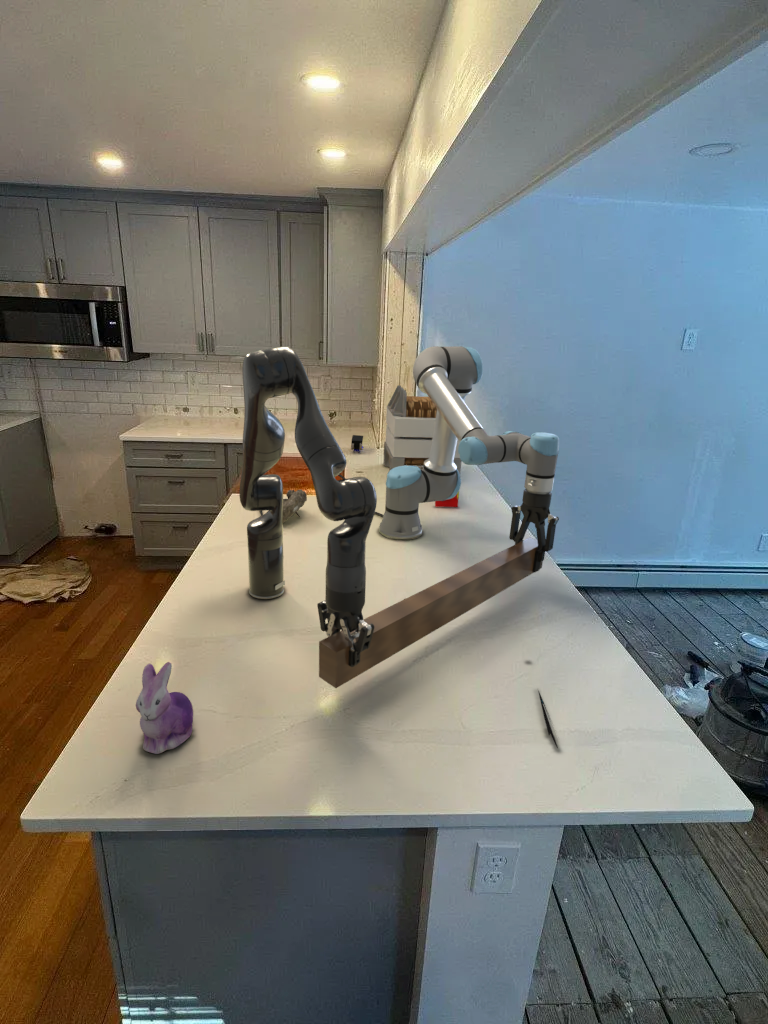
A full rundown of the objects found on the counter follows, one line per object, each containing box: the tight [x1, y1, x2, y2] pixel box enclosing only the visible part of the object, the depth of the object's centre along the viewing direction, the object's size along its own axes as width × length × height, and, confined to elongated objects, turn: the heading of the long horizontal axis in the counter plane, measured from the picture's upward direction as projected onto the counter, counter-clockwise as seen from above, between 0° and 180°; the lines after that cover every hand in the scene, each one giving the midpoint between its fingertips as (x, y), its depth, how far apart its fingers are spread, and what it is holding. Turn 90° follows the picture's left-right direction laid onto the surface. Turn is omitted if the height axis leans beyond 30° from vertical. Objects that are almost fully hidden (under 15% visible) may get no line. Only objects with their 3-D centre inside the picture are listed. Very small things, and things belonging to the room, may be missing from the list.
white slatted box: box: [383, 384, 463, 475], centre depth 268 cm, size 34×33×41 cm
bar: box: [318, 536, 544, 689], centre depth 136 cm, size 80×5×8 cm, turn 137°
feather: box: [528, 660, 560, 749], centre depth 116 cm, size 2×28×2 cm
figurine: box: [135, 661, 194, 755], centre depth 100 cm, size 9×10×15 cm
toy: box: [434, 491, 460, 508], centre depth 240 cm, size 12×13×30 cm
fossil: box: [282, 489, 308, 524], centre depth 209 cm, size 22×10×15 cm
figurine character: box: [350, 434, 364, 454], centre depth 311 cm, size 7×8×15 cm
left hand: (344, 658), depth 112 cm, fingers closed on bar, 5 cm apart
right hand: (527, 567), depth 162 cm, fingers closed on bar, 5 cm apart
